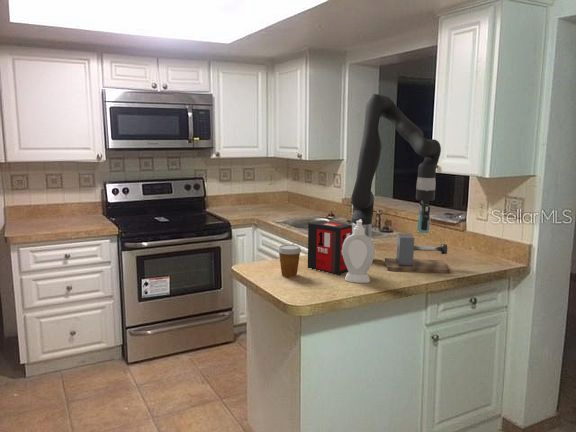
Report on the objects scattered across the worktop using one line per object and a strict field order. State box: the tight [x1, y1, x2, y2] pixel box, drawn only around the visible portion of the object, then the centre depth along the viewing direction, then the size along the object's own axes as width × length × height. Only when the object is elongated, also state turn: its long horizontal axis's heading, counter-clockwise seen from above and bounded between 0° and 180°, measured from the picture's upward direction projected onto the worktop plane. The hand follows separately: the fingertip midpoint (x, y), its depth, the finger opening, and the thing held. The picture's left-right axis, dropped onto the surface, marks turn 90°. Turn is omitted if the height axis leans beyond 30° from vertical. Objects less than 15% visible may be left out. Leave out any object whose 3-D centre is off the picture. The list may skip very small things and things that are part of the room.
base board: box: [384, 257, 451, 274], centre depth 212 cm, size 26×16×2 cm, turn 83°
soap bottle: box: [342, 219, 376, 284], centre depth 190 cm, size 13×8×24 cm, turn 74°
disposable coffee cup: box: [277, 244, 302, 278], centre depth 197 cm, size 10×10×12 cm
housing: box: [396, 232, 415, 266], centre depth 212 cm, size 6×10×12 cm, turn 173°
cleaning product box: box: [307, 220, 352, 276], centre depth 206 cm, size 16×9×20 cm, turn 50°
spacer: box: [416, 213, 431, 234], centre depth 200 cm, size 4×6×7 cm
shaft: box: [414, 243, 448, 255], centre depth 211 cm, size 16×4×4 cm, turn 83°
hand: (423, 228), depth 200 cm, fingers closed on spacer, 5 cm apart
